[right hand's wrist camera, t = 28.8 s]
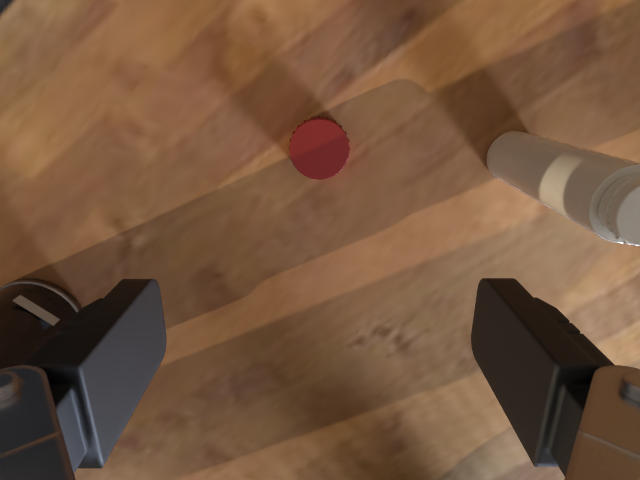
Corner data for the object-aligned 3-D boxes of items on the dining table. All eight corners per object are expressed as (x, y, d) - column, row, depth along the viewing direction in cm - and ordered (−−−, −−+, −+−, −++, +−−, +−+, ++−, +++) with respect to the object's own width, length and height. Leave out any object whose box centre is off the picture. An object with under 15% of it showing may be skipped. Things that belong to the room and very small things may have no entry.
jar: (479, 175, 38) (592, 244, 22) (496, 125, 37) (631, 162, 21) (525, 185, 38) (670, 261, 23) (545, 137, 37) (714, 181, 21)
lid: (353, 120, 36) (354, 123, 35) (343, 179, 38) (345, 184, 36) (293, 112, 36) (292, 114, 34) (287, 171, 38) (285, 176, 36)
